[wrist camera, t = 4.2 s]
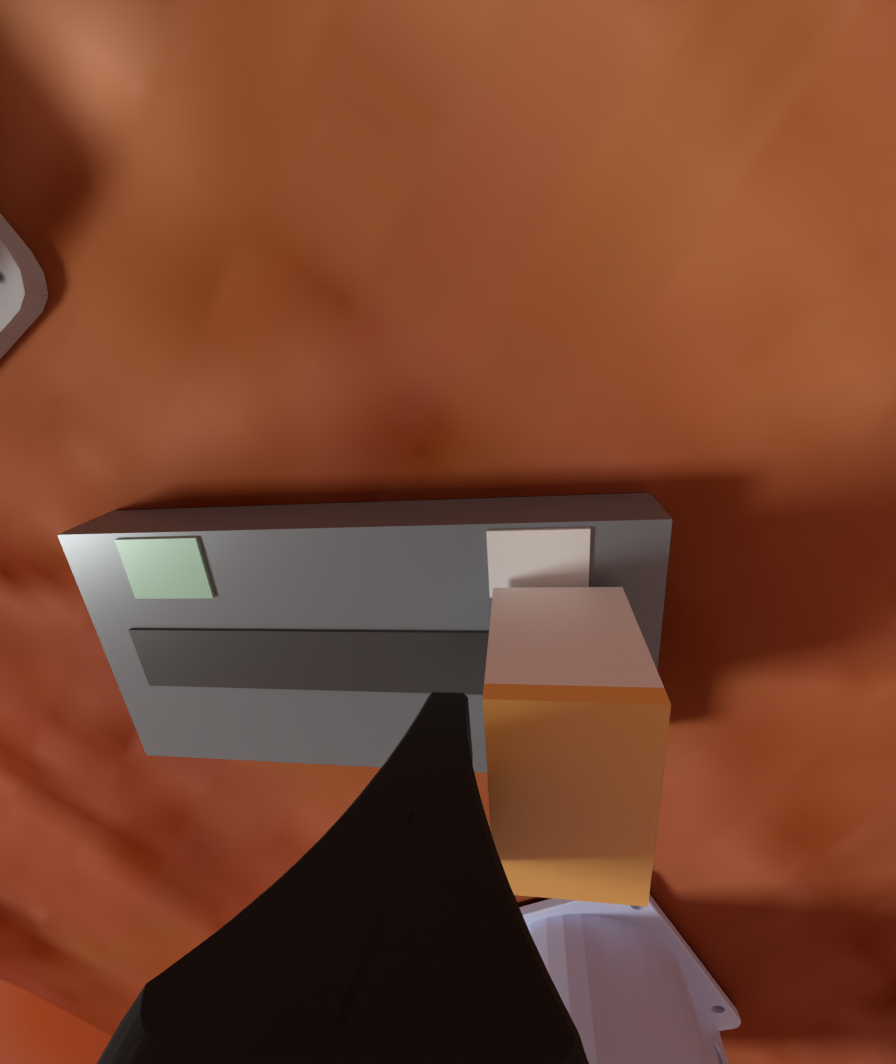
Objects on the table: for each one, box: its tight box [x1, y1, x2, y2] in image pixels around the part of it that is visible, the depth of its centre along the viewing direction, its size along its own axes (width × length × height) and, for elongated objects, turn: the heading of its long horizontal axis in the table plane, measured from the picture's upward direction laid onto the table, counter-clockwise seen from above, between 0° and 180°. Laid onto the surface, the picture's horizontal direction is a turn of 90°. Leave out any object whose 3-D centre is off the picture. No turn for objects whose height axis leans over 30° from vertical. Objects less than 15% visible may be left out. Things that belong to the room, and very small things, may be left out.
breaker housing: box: [58, 493, 673, 773], centre depth 14 cm, size 16×8×2 cm, turn 95°
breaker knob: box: [483, 587, 671, 907], centre depth 11 cm, size 3×5×4 cm, turn 5°
